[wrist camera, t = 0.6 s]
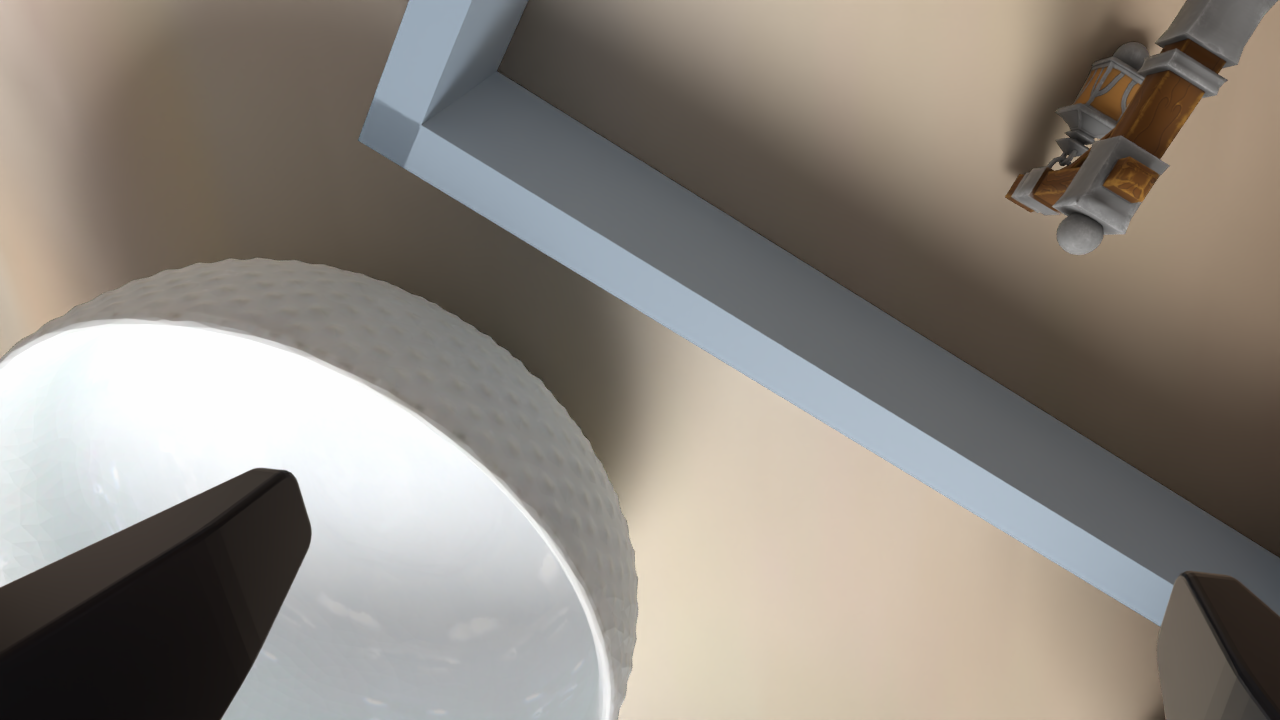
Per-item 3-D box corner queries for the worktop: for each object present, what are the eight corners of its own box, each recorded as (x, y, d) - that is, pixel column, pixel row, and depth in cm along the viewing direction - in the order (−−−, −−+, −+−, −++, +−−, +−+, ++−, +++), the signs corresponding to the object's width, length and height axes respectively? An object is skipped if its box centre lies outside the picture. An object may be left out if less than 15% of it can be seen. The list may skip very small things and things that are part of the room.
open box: (2165, 37, 14) (2551, 112, 11) (1281, 603, 23) (1347, 739, 20) (866, -947, 12) (856, -1220, 9) (441, 85, 21) (357, 140, 18)
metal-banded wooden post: (955, 218, 19) (1042, 227, 15) (1184, -146, 18) (1356, -258, 13) (1028, 262, 19) (1137, 283, 15) (1261, -97, 18) (1457, -192, 14)
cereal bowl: (266, 43, 22) (32, 137, 16) (806, 458, 24) (778, 672, 18) (82, 452, 31) (-109, 609, 25) (488, 723, 33) (402, 922, 27)
